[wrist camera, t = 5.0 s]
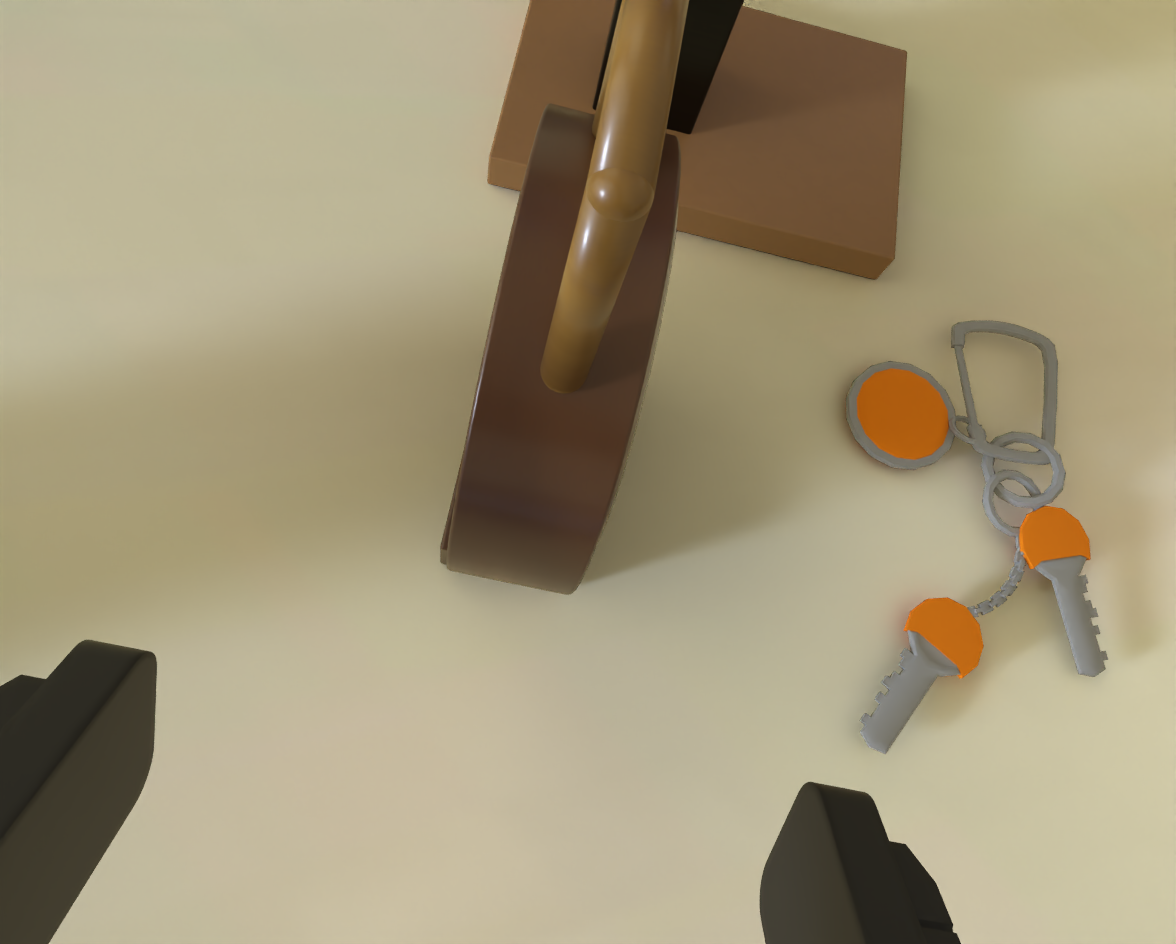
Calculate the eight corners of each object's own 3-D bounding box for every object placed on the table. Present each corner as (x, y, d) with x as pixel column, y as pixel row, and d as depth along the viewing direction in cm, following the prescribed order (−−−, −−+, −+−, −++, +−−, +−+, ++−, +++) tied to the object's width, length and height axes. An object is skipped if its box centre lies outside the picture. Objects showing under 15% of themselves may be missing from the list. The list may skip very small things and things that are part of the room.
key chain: (846, 299, 26) (859, 284, 25) (1074, 343, 27) (1093, 330, 26) (838, 748, 22) (853, 747, 21) (1110, 784, 22) (1135, 784, 22)
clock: (427, 615, 21) (406, 336, 8) (503, 297, 24) (585, -304, 11) (556, 641, 21) (759, 418, 8) (615, 324, 25) (833, -228, 11)
